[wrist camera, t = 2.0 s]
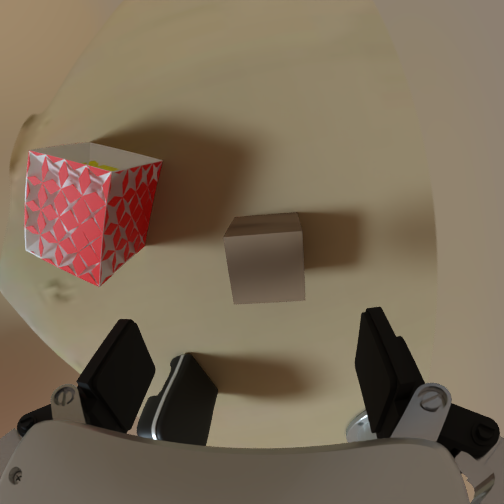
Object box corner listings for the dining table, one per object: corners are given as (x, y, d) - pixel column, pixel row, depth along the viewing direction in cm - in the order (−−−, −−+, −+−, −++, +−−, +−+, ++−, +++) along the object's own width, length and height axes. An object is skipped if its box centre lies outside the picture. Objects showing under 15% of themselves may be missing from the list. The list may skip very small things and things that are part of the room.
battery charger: (162, 356, 29) (124, 435, 19) (189, 349, 28) (155, 436, 18) (194, 394, 31) (170, 471, 21) (220, 390, 31) (201, 472, 20)
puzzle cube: (163, 160, 21) (111, 172, 14) (145, 245, 24) (99, 287, 17) (89, 141, 21) (28, 149, 14) (78, 220, 24) (24, 249, 17)
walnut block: (300, 269, 24) (305, 300, 19) (242, 273, 25) (234, 304, 20) (297, 211, 22) (302, 231, 18) (234, 217, 23) (223, 237, 18)
